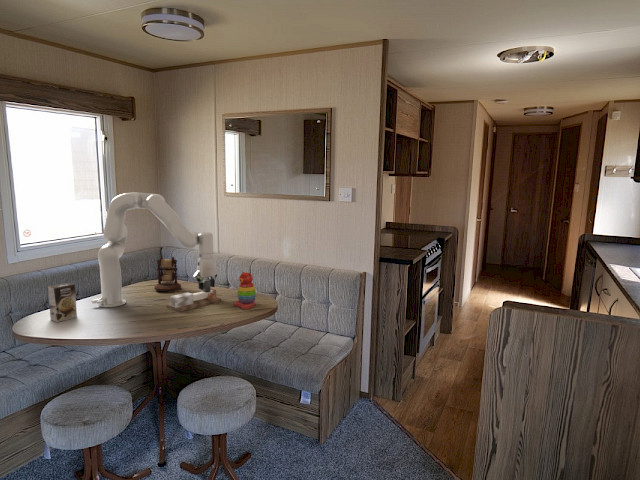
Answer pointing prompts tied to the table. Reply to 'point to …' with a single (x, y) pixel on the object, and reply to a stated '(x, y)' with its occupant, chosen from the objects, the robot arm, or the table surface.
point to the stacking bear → (246, 292)
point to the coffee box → (62, 302)
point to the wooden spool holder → (167, 275)
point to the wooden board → (190, 301)
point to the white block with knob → (205, 292)
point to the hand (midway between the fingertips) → (206, 287)
